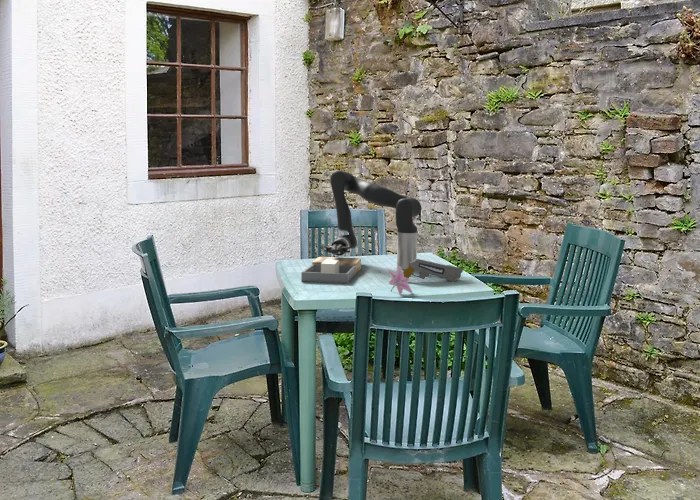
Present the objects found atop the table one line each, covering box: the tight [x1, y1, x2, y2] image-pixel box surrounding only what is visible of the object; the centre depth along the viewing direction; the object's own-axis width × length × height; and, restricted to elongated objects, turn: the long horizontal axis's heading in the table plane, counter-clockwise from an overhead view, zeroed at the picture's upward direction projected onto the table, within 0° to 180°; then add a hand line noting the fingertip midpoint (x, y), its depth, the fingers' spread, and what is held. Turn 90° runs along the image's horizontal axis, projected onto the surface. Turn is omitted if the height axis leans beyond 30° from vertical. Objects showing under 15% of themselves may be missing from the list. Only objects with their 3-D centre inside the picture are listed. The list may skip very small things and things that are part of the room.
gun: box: [403, 258, 464, 282], centre depth 323 cm, size 3×25×15 cm, turn 100°
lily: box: [387, 266, 413, 296], centre depth 297 cm, size 12×12×10 cm
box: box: [300, 263, 357, 284], centre depth 327 cm, size 20×22×4 cm
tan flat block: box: [311, 256, 362, 275], centre depth 346 cm, size 20×16×5 cm
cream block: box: [321, 259, 339, 273], centre depth 330 cm, size 6×6×12 cm
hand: (333, 251), depth 337 cm, fingers closed
